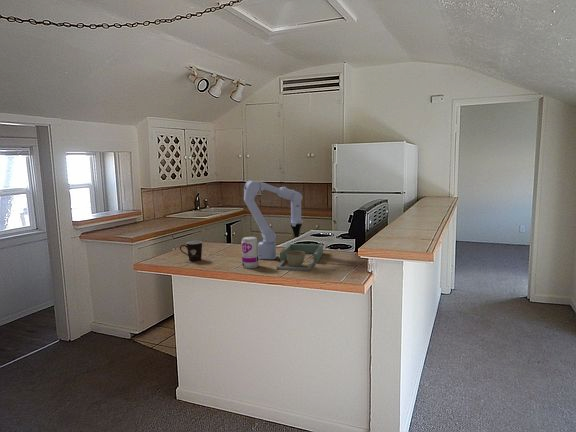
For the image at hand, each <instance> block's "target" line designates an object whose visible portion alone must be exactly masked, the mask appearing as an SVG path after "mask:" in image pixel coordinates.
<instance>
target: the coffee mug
mask: <svg viewBox="0 0 576 432" xmlns="http://www.w3.org/2000/svg"><path fill="white" fill-rule="evenodd" d="M182 247H185V248H186V250H187V253H186V252H184V251H183V250H182ZM179 250H180V252H182V254H184V255H186V256H188V260H189V262H192V263H194V262H195V263H196V262H200V261H202V253H203V241H201V240H192V241H187V242H186V245H185V244H182V245H181V246H180V247H179Z"/></svg>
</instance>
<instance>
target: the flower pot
mask: <svg viewBox="0 0 576 432" xmlns="http://www.w3.org/2000/svg"><path fill="white" fill-rule="evenodd" d="M305 257H306V253H305V252H303V251H288V252H286V260H287V263H288V265H289V267H301V266H302V265H303V263H304V260H305Z"/></svg>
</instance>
